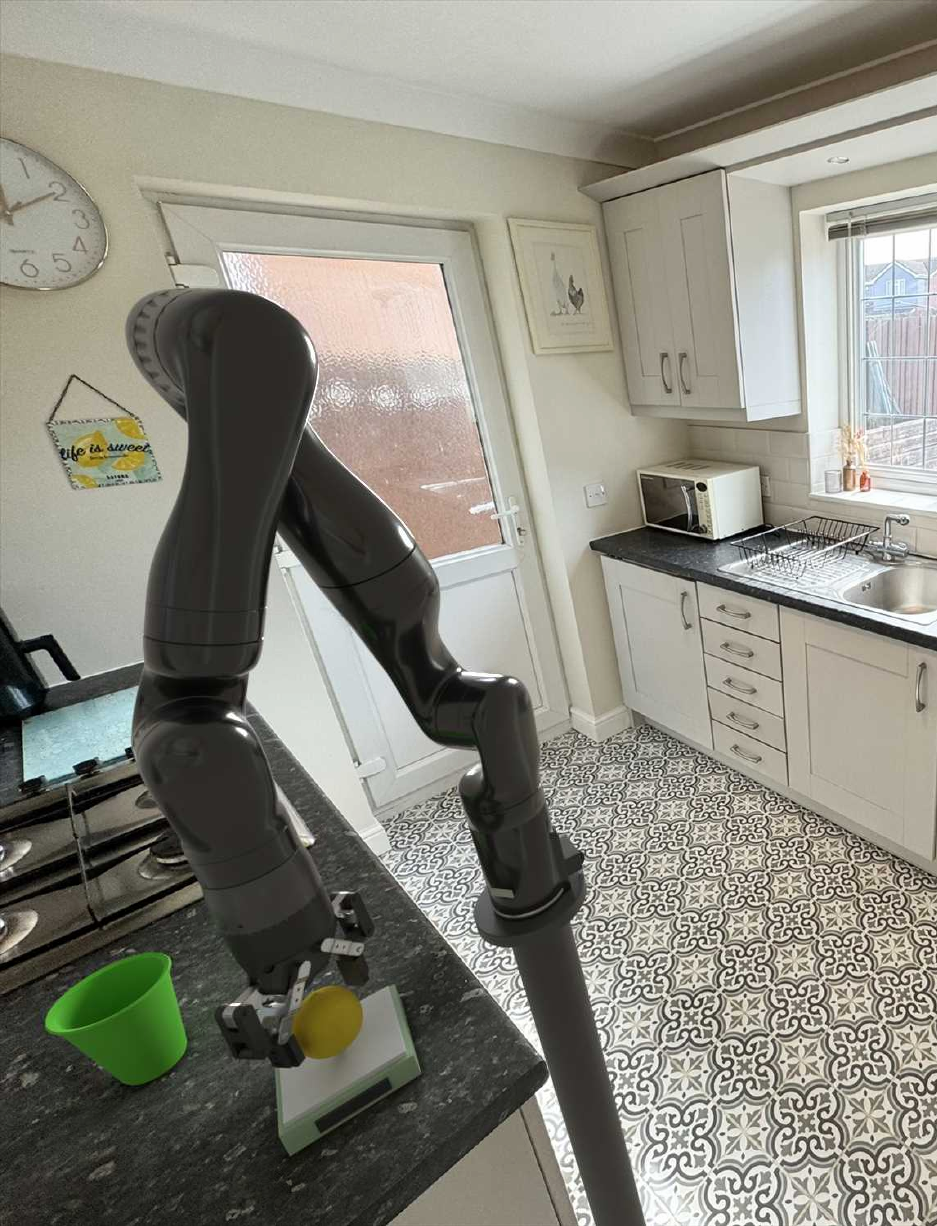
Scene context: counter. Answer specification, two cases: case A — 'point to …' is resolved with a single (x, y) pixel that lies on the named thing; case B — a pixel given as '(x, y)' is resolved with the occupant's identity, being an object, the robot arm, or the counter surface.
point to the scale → (347, 1074)
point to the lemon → (327, 1022)
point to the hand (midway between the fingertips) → (328, 1020)
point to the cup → (124, 1018)
